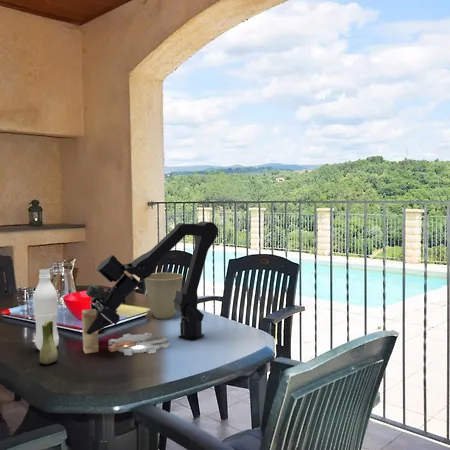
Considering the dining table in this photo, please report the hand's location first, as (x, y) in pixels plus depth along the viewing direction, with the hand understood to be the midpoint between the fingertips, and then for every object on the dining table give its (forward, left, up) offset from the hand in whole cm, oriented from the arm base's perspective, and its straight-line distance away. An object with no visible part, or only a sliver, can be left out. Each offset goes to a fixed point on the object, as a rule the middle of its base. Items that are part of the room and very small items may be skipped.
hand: (85, 330), depth 161 cm
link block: (-1, -1, -7) cm, 7 cm away
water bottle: (+12, +5, -7) cm, 15 cm away
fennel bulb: (+1, +13, -7) cm, 15 cm away
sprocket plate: (-10, -13, -7) cm, 18 cm away
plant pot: (+6, -45, -7) cm, 46 cm away
